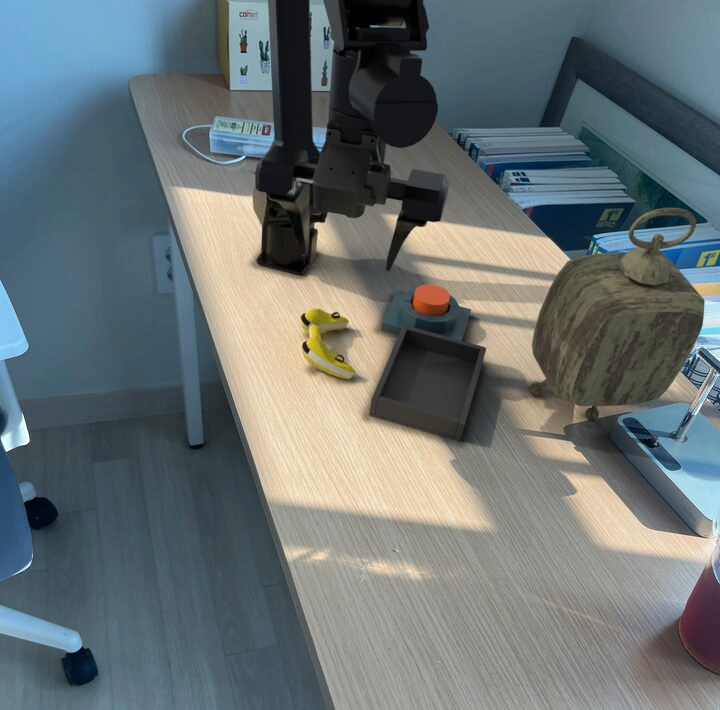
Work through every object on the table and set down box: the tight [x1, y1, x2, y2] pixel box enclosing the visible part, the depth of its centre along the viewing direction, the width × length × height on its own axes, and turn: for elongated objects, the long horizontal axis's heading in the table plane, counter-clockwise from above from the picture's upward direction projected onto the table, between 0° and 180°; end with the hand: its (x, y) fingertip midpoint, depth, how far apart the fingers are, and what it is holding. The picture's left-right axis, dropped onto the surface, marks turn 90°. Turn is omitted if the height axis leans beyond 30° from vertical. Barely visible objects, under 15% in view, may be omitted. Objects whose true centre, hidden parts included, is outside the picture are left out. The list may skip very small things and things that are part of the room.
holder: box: [368, 325, 488, 443], centre depth 87 cm, size 10×14×3 cm
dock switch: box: [380, 286, 472, 341], centre depth 95 cm, size 10×8×3 cm
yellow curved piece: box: [300, 308, 356, 380], centre depth 89 cm, size 10×6×4 cm, turn 5°
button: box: [413, 284, 451, 316], centre depth 94 cm, size 4×4×2 cm
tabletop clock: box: [528, 207, 706, 422], centre depth 80 cm, size 14×9×25 cm, turn 102°
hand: (346, 261), depth 81 cm, fingers open, 9 cm apart
